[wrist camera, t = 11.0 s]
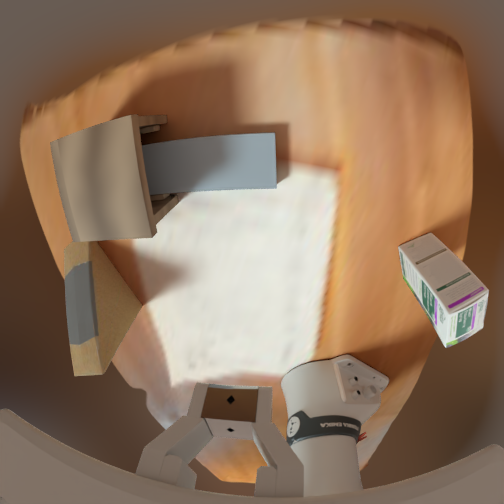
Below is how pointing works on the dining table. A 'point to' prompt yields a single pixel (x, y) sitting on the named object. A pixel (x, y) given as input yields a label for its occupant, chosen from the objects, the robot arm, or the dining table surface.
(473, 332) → the syrup box
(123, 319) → the sandwich container
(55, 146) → the open wooden box
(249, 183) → the panel
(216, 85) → the dining table surface
